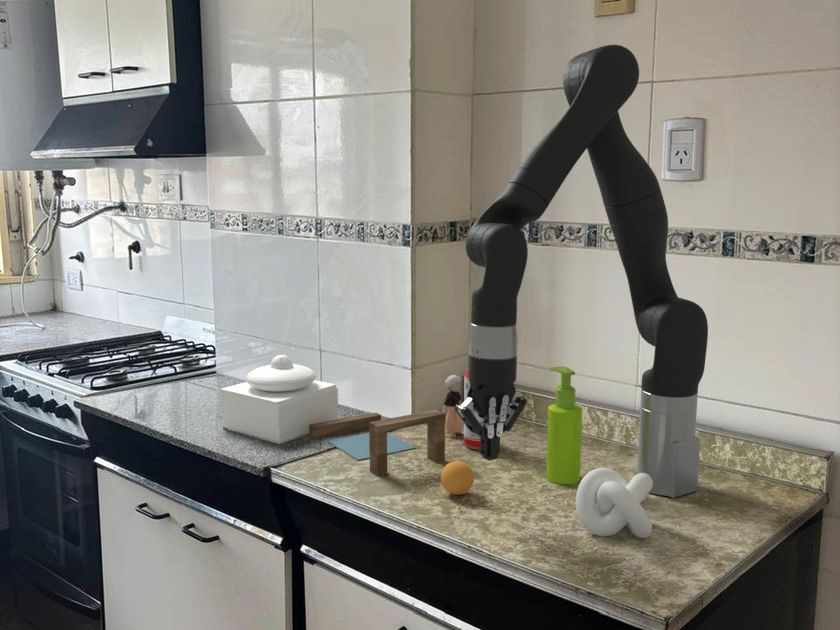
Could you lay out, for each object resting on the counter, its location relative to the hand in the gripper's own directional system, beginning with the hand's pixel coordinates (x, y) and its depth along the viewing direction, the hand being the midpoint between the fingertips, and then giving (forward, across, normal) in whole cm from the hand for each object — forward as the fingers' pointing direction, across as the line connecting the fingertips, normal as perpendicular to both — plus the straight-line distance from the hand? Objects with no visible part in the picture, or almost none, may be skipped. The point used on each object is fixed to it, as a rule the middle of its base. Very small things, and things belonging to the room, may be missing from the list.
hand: (489, 458), depth 130 cm
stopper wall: (+9, 0, +50) cm, 51 cm away
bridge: (+9, 0, +25) cm, 27 cm away
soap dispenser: (+9, +20, +5) cm, 23 cm away
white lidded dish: (+10, -10, +61) cm, 63 cm away
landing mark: (+9, 0, +39) cm, 40 cm away
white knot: (+9, +13, -16) cm, 23 cm away
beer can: (+9, +18, +27) cm, 34 cm away
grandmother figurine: (+9, +18, +36) cm, 42 cm away
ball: (+6, 0, +9) cm, 11 cm away
